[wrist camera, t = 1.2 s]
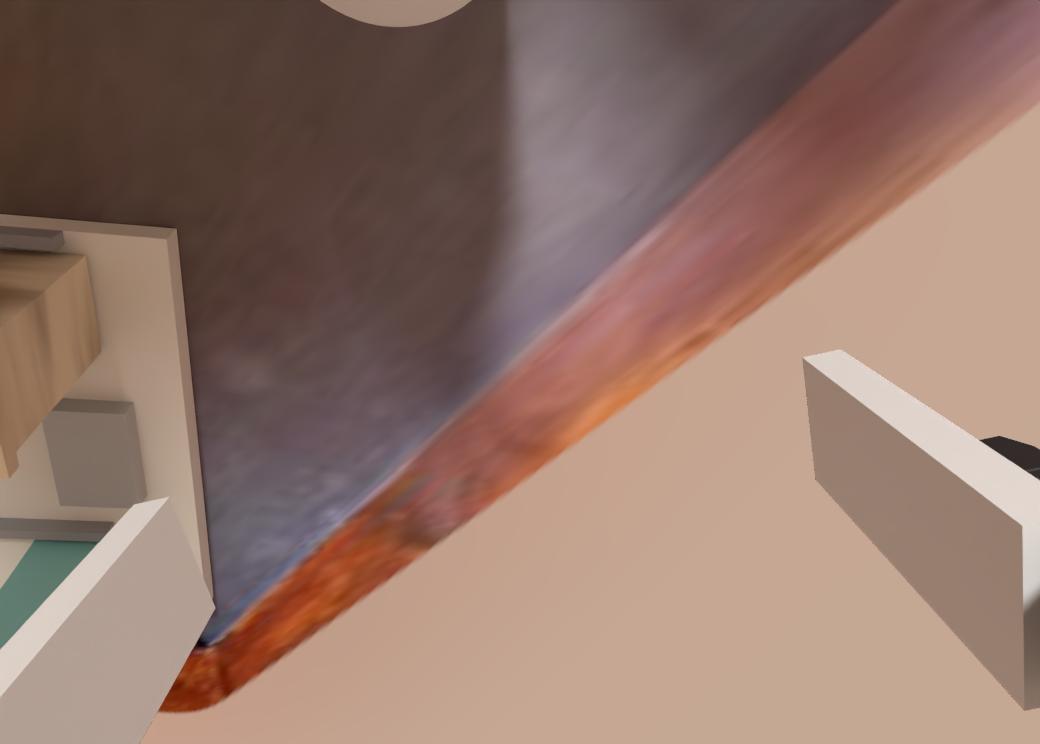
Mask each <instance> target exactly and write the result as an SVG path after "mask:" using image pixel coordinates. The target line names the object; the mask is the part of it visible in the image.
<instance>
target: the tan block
mask: <svg viewBox="0 0 1040 744" xmlns="http://www.w3.org/2000/svg"><path fill="white" fill-rule="evenodd" d="M100 353H101V346H100V340H99V334H98V328H97V322H96V315H95V309H94V303H93V297H92V291H91V285H90V279H89V272H88V266H87V260H86V256H84V255H71V254H59V253H46V252H33V251H20V250H7V249H0V478H5V479H9V478H10V477H11V476H12V475H13V473H14V472H15V471H16V470H17V469H18V467H19V462H18V458H17V454H16V452H17V450H18V449H19V448H20V447H21V446H22V444H23V443H24V442H25V441H26V440H27V439H28V437H29V436H30V435H31V434H32V433H33V432H34V430H35V429H36V428H37V427H38V426H39V425H40V423H41V422H42V421H43V420H44V419H45V418H46V416H47V415H48V414H49V413H50V412H51V410H52V409H53V408H54V407H55V406H56V405H57V403H58V402H59V401H60V400H61V399H62V398H63V396H64V395H65V394H66V393H67V392H68V391H69V389H70V388H71V387H72V386H73V385H74V383H75V382H76V381H77V380H78V379H79V378H80V376H81V375H82V374H83V373H84V372H85V371H86V369H87V368H88V367H89V366H90V365H91V364H92V362H93V361H94V360H95V359H96V358H97V357H98V355H99V354H100Z"/></svg>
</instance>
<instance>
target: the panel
mask: <svg viewBox="0 0 1040 744" xmlns="http://www.w3.org/2000/svg"><path fill="white" fill-rule="evenodd" d="M0 249H7V250H20V251H33V252H46V253H59V254H71V255H84V256H86V260H87V266H88V272H89V279H90V285H91V291H92V297H93V303H94V309H95V315H96V322H97V328H98V334H99V340H100V346H101V353H100V354H99V355H98V357H97V358H96V359H95V360H94V361H93V362H92V364H91V365H90V366H89V367H88V368H87V369H86V371H85V372H84V373H83V374H82V375H81V376H80V378H79V379H78V380H77V381H76V382H75V383H74V385H73V386H72V387H71V388H70V389H69V391H68V392H67V393H66V394H65V395H64V396H63V398H62V399H61V400H60V401H59V402H58V403H57V405H56V406H55V407H54V408H53V409H52V410H51V412H50V413H49V414H48V415H47V416H46V418H45V419H44V420H43V421H42V422H41V423H40V425H39V426H38V427H37V428H36V429H35V430H34V432H33V433H32V434H31V435H30V436H29V437H28V439H27V440H26V441H25V442H24V443H23V444H22V446H21V447H20V448H19V449H18V450H17V452H16V454H17V458H18V462H19V467H18V469H17V470H16V471H15V472H14V473H13V475H12V476H11V477H10V478H9V479H5V478H0V589H1V588H2V586H3V585H4V583H5V582H6V580H7V579H8V578H9V576H10V575H11V573H12V572H13V570H14V569H15V567H16V566H17V565H18V563H19V562H20V560H21V559H22V557H23V556H24V555H25V553H26V552H27V550H28V549H29V547H30V546H31V544H32V543H33V542H34V540H61V541H91V542H100V541H101V540H102V539H103V538H104V537H105V535H106V534H107V533H108V532H109V531H110V530H111V529H112V528H113V527H114V526H115V525H116V523H117V522H118V521H119V520H120V519H121V518H122V517H123V516H124V515H125V514H126V513H127V512H128V510H129V509H130V508H131V507H132V506H133V505H134V504H139V503H144V502H148V501H153V500H157V499H162V498H166V497H170V499H171V501H172V503H173V506H174V508H175V511H176V513H177V516H178V518H179V520H180V523H181V525H182V528H183V530H184V533H185V535H186V537H187V540H188V542H189V545H190V547H191V550H192V552H193V554H194V557H195V559H196V562H197V564H198V567H199V569H200V571H201V574H202V576H203V579H204V581H205V584H206V586H207V588H208V591H209V593H210V596H211V598H213V596H214V595H213V585H212V575H211V565H210V555H209V545H208V535H207V525H206V515H205V505H204V495H203V486H202V476H201V466H200V456H199V446H198V436H197V426H196V416H195V406H194V396H193V386H192V376H191V366H190V357H189V347H188V337H187V327H186V317H185V307H184V297H183V287H182V277H181V267H180V257H179V247H178V237H177V229H174V228H162V227H150V226H138V225H126V224H114V223H102V222H90V221H78V220H66V219H54V218H42V217H30V216H18V215H6V214H0Z"/></svg>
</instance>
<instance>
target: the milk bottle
mask: <svg viewBox="0 0 1040 744" xmlns="http://www.w3.org/2000/svg"><path fill="white" fill-rule="evenodd" d="M320 1H321V2H323V3H324V4H326V5H328V6H329V7H331V8H332V9H334V10H336V11H338V12H340V13H342V14H344V15H346V16H348V17H351V18H353V19H356V20H359V21H362V22H365V23H369V24H374V25H379V26H387V27H409V26H417V25H422V24H426V23H430V22H433V21H436V20H439V19H442V18H444V17H446V16H448V15H450V14H452V13H454V12H456V11H457V10H459V9H460V8H462V7H464V6H465V5H466V4H468V3H469V2H470V1H471V0H320Z"/></svg>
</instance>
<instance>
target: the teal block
mask: <svg viewBox="0 0 1040 744" xmlns="http://www.w3.org/2000/svg"><path fill="white" fill-rule="evenodd" d="M98 543H99V542H91V541H61V540H34V542H33V543H32V544H31V546H30V547H29V549H28V550H27V552H26V553H25V555H24V556H23V557H22V559H21V560H20V562H19V563H18V565H17V566H16V567H15V569H14V570H13V572H12V573H11V575H10V576H9V578H8V579H7V580H6V582H5V583H4V585H3V586H2V588H1V589H0V649H1V648H2V647H3V646H4V645H5V644H6V643H7V642H8V641H9V640H10V639H11V637H12V636H13V635H14V634H15V633H16V632H17V631H18V630H19V629H20V628H21V627H22V626H23V624H24V623H25V622H26V621H27V620H28V619H29V618H30V617H31V616H32V615H33V614H34V612H35V611H36V610H37V609H38V608H39V607H40V606H41V605H42V604H43V603H44V602H45V601H46V599H47V598H48V597H49V596H50V595H51V594H52V593H53V592H54V591H55V590H56V589H57V588H58V586H59V585H60V584H61V583H62V582H63V581H64V580H65V579H66V578H67V577H68V576H69V575H70V573H71V572H72V571H73V570H74V569H75V568H76V567H77V566H78V565H79V564H80V563H81V561H82V560H83V559H84V558H85V557H86V556H87V555H88V554H89V553H90V552H91V551H92V550H93V548H94V547H95V546H96V545H97V544H98Z"/></svg>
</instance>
